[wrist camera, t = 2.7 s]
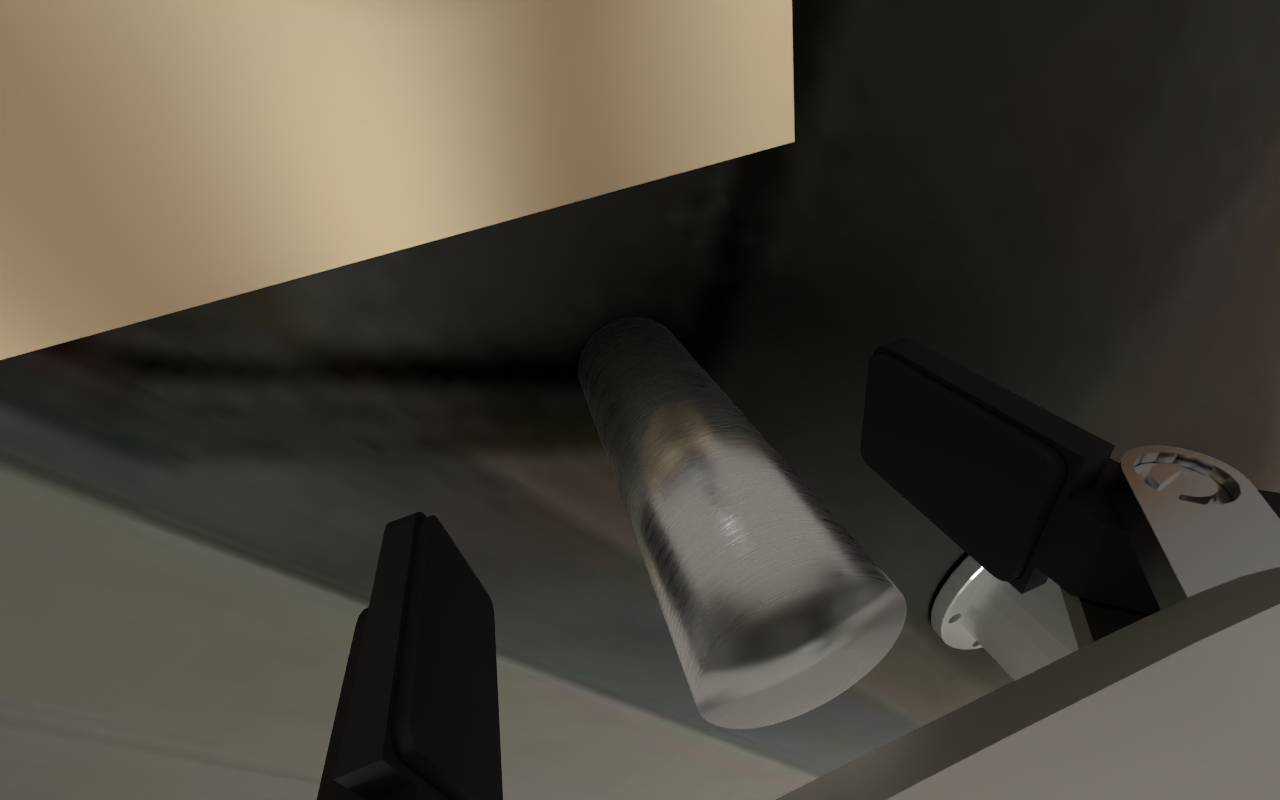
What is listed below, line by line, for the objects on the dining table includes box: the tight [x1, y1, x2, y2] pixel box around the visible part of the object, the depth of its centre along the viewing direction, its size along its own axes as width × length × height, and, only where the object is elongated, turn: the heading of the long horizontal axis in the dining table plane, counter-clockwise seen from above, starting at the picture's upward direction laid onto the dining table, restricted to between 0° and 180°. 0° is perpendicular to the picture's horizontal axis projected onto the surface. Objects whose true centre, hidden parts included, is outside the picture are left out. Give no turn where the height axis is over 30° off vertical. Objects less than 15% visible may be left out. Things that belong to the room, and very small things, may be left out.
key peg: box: [578, 317, 907, 729], centre depth 11 cm, size 3×3×10 cm
